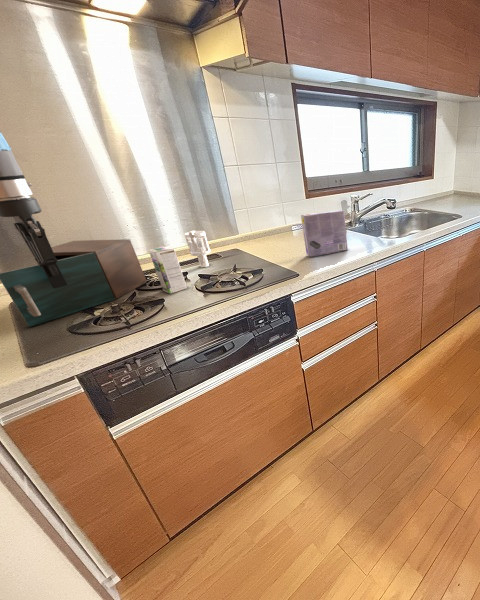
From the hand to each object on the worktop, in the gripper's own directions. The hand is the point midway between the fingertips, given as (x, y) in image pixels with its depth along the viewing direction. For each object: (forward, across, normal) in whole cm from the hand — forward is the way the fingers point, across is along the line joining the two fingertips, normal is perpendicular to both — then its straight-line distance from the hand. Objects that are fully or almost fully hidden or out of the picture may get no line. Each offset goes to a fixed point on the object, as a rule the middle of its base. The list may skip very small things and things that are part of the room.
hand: (60, 286), depth 90 cm
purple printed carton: (+11, -24, -81) cm, 85 cm away
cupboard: (+10, +18, -13) cm, 24 cm away
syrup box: (+10, -4, -25) cm, 28 cm away
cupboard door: (+10, +3, -1) cm, 10 cm away
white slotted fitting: (+10, +10, -44) cm, 46 cm away
